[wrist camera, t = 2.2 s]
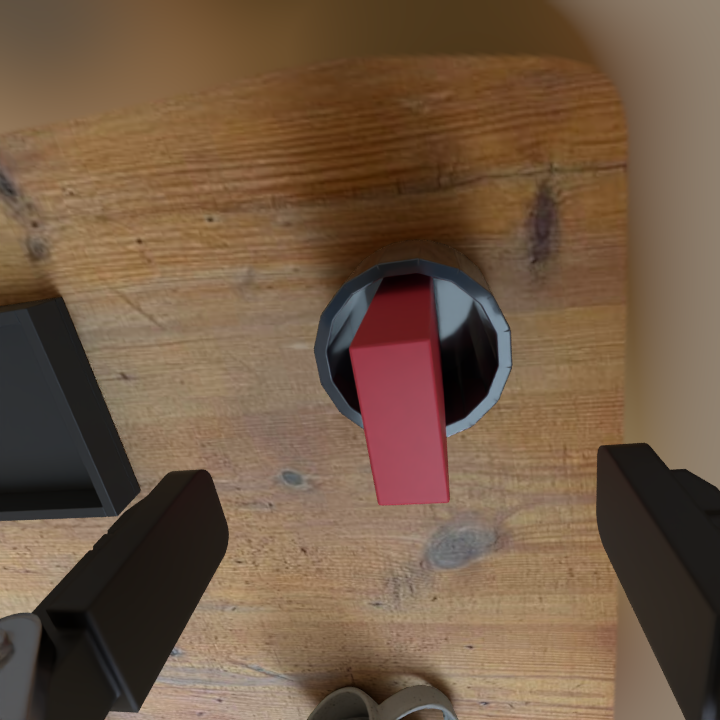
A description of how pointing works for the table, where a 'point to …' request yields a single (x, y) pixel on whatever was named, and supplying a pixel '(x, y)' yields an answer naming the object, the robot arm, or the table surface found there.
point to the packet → (403, 392)
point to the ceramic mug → (364, 716)
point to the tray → (55, 423)
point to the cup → (455, 324)
